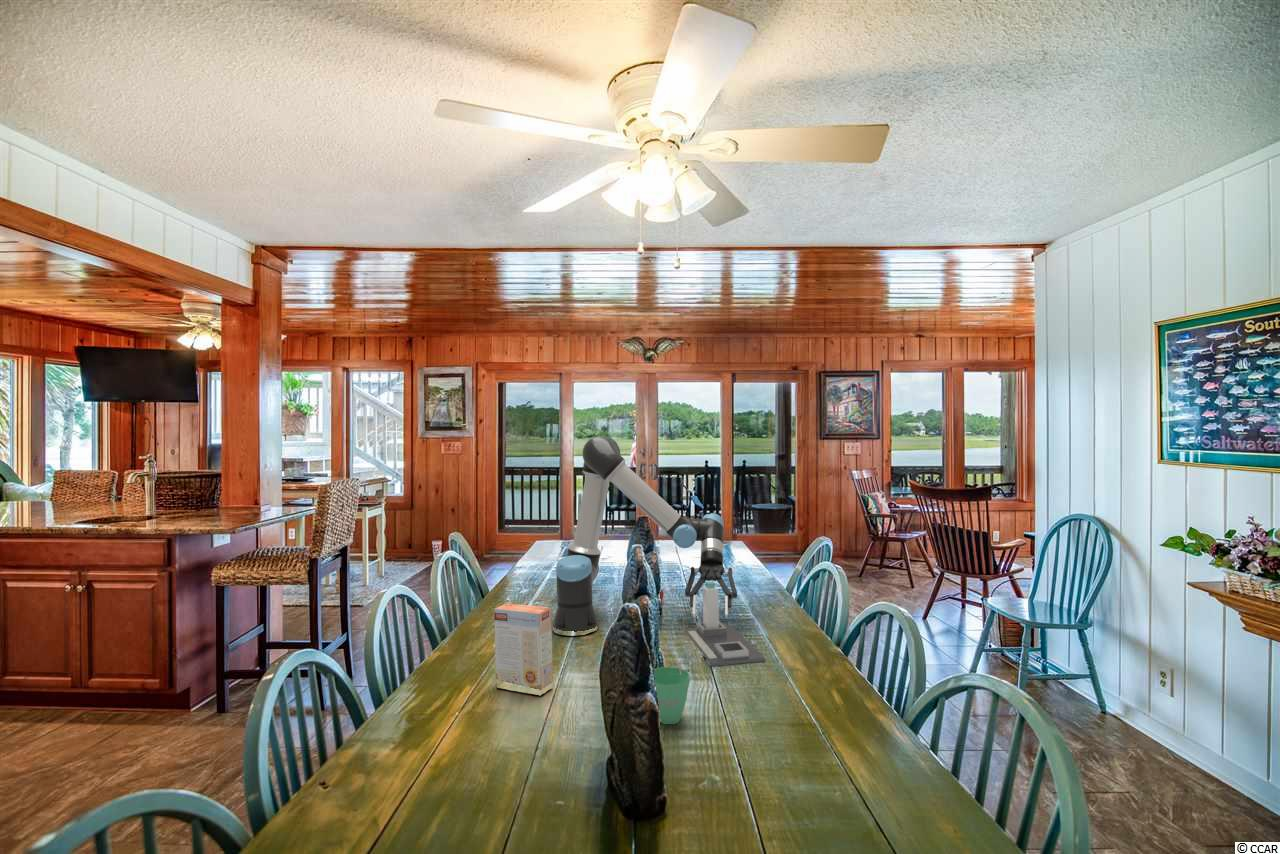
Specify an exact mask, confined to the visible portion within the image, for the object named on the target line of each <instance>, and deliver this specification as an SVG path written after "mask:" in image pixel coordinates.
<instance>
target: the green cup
mask: <svg viewBox="0 0 1280 854" xmlns="http://www.w3.org/2000/svg"><path fill="white" fill-rule="evenodd" d="M653 670H654V677H655V685H656V691H657V698H658V704H659V708H660V719H661V724H662V723H663V725H666V724H673V725H676V724H678V723H679V722H680V720H681V718H682V715H683V712H684V709H685V705H686V701H687V697H688V692H689V687H690V681H691V675H690V672H688V671H687V670H686V669H683V668H682V669H681V672H680V670H679V668H678V667H677V666H676V667H674V666H673V667H672V666H665V667H664V666H663V667H657V668H654V669H653ZM677 722H678V723H677ZM675 723H676V724H675Z"/></svg>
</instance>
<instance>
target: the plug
mask: <svg viewBox="0 0 1280 854" xmlns="http://www.w3.org/2000/svg"><path fill="white" fill-rule="evenodd" d="M704 584H705V585H704V586H703V585H702V587H701V588H702V622H703V627H704V628H705V629H709V628H719V621H720V612H719V611H720V610H719V609H720V607H719V606H720V605H719V604H720V603H719V588H718V586H716V583H715V581H712V580H711V581H705V583H704Z"/></svg>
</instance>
